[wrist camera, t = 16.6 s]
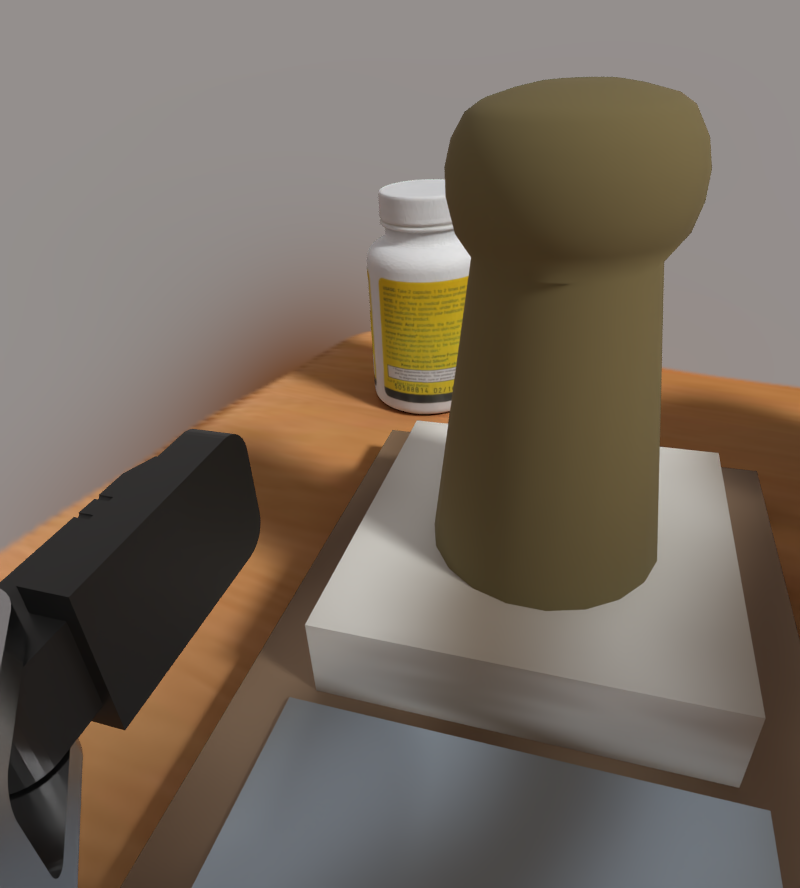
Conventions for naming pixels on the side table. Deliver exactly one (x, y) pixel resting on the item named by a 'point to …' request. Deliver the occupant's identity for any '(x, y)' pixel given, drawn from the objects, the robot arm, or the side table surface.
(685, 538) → the base
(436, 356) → the supplement bottle
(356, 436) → the side table surface
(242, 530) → the robot arm
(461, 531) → the cork
